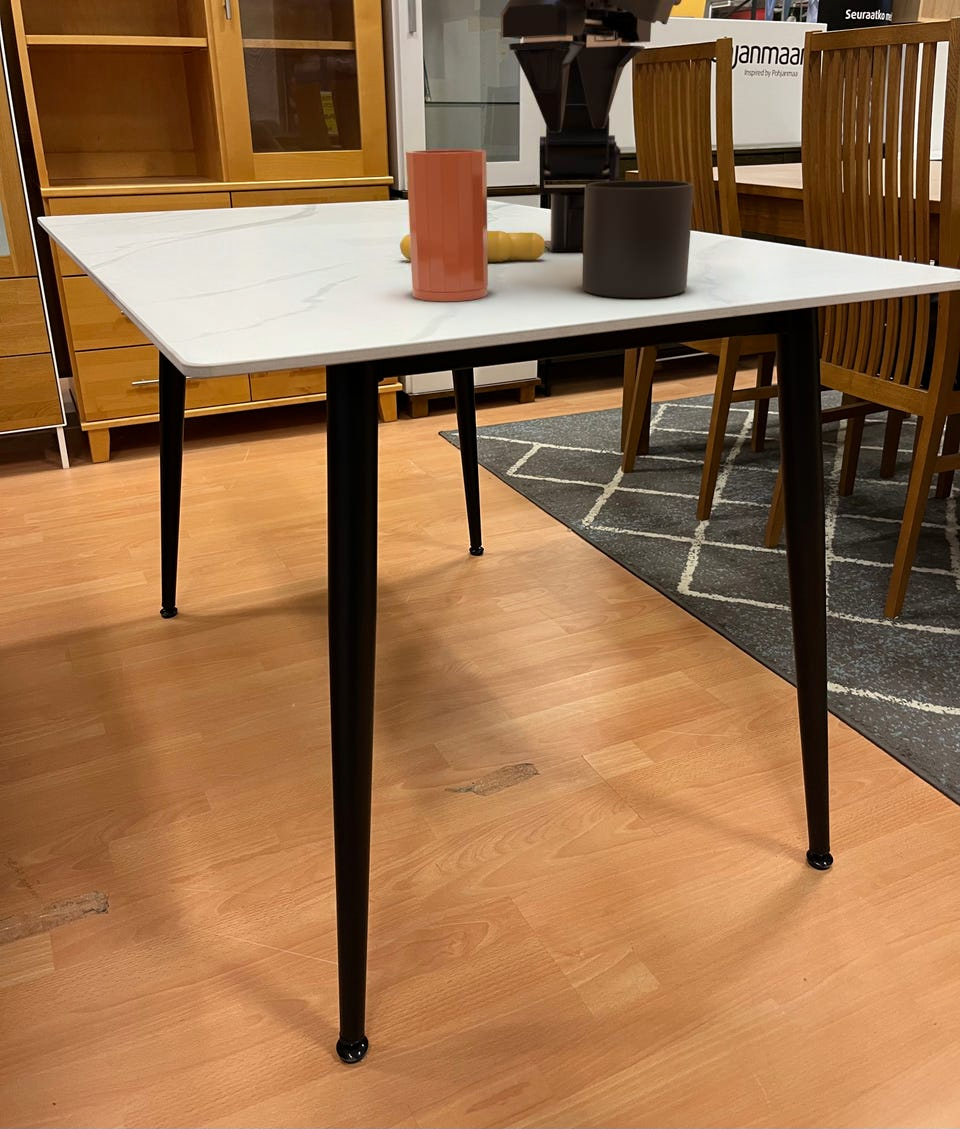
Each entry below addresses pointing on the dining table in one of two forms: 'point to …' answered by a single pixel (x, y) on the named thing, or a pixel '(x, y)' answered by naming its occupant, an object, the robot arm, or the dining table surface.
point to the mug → (636, 238)
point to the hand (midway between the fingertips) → (577, 130)
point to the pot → (448, 224)
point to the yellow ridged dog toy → (501, 246)
